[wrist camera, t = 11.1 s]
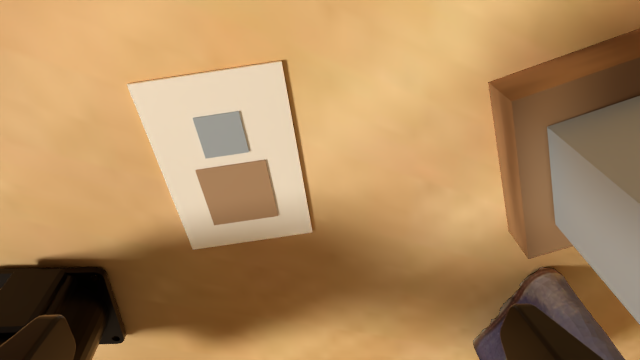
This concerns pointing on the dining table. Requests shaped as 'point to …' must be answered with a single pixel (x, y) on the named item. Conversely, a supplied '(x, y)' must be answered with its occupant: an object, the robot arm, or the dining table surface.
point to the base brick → (548, 109)
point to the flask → (559, 305)
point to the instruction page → (227, 152)
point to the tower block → (601, 193)
